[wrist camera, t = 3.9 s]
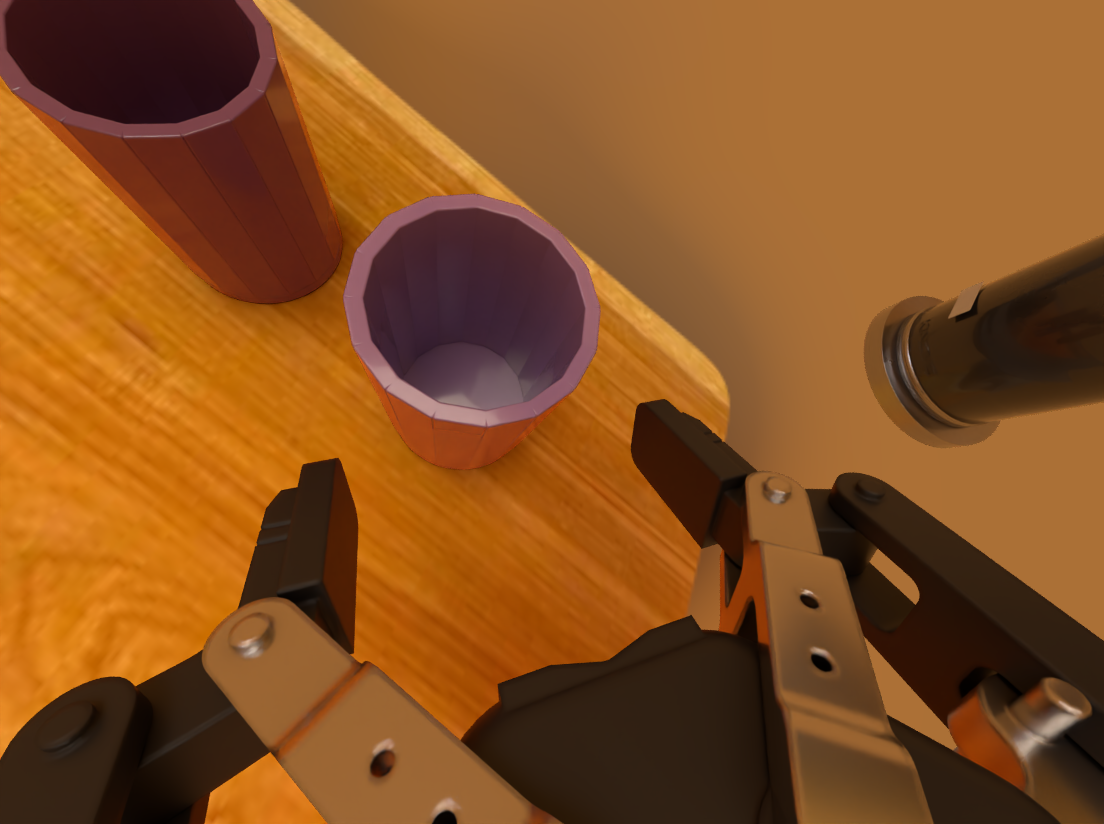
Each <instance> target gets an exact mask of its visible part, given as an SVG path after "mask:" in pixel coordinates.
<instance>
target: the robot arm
mask: <svg viewBox="0 0 1104 824" xmlns="http://www.w3.org/2000/svg"><path fill="white" fill-rule="evenodd" d="M982 284H983V282H981V283H979V284H976V285H974V286H972V287H969V288H967V289H965V290H962V291H961V293H960V295H959V296H957V297H955V298H952V299H950V300H947V301H945V302H943V303H940V304H938V305H936V306H931V307H928V308H925V309H923V310H921V311H919V312H916V313H914V314H912V315H911V316H909V317H908V318H907V319H906V320H905V321H904V322H903V324H902V326H901V328H900V330H899V333H898V336H897V343H896V354H897V361H898V366H899V369H900V372H901V375H902V378H903V380H904V382H905V384H906V386H907V388H908V390H909V391H910V393H911V395H912V396H913V397H914V399H915V400H916V401H917V403H918V404H919V405H920V406H921V407H922V408H923V409H924V410H925V411H926V412H927V413H928V414H929V415H931V416H932V417H933V418H935V419H936V420H938V421H940V422H942V423H944V424H946V425H949V426H952V427H957V428H967V427H973V426H979V425H984V424H987V423H989V422H994V421H999V420H1005V419H1011V418H1017V417H1022V416H1028V415H1035V414H1041V413H1046V412H1052V411H1058V410H1064V409H1069V408H1075V407H1080V406H1086V405H1091V404H1098V403H1103V402H1104V234H1102V235H1100V236H1097V237H1095V238H1092V239H1090V240H1088V241H1085V242H1083V243H1081V244H1078V245H1076V246H1074V247H1072V248H1069V249H1067V250H1065V251H1062V252H1060V253H1057V254H1055V255H1053V256H1050V257H1048V258H1046V259H1043V260H1041V261H1039V262H1036V263H1034V264H1032V265H1029V266H1027V267H1025V268H1022V269H1020V270H1018V271H1015V272H1013V273H1011V274H1009V275H1006V276H1004V277H1001V278H999V279H997V280H994V281H992V282H990V283H987V284H985V285H983V286H982ZM631 453H632V458H633V461H634V463H635V465H636V466H637V468H638V469H639V470H640V472H641V473H642V474H643V475H644V477H645V478H646V479H647V480H648V482H649V483H650V484H651V485H652V487H653V488H654V489H655V491H656V492H657V493H658V494H659V496H660V497H661V498H662V499H663V501H664V502H665V503H666V504H667V506H668V507H669V508H670V509H671V511H672V512H673V513H674V515H675V516H676V517H677V518H678V520H679V521H680V522H681V523H682V525H683V526H684V527H685V528H686V530H687V531H688V532H689V533H690V535H691V536H692V537H693V539H694V540H695V541H696V542H697V544H698V545H699V546H700V547H701V549H702V548H705V547H708V546H711V545H715V544H719V545H720V546H721V547H722V552H721V555H720V624H719V630H718V631H715V630H701V629H700V627H699V626H698V624H697V623H696V621H695V620H694V618H693V617H692V615H690V616H688V617H685V618H682V619H679V620H676V621H674V622H671V623H668V624H665V625H662V626H659V627H657V628H654V629H651V630H648V631H647V632H646V633H644V634H643V635H642V636H640V637H639V638H638V639H636V640H635V641H634V642H632V643H631V644H630V645H628V646H627V647H626V648H624V649H623V650H622V651H620V652H619V653H618V654H616V655H615V656H614V657H612V658H611V659H609V660H607V661H602V662H589V663H575V664H561V665H550V666H547V667H544V668H541V669H538V670H536V671H533V672H530V673H527V674H524V675H522V676H519V677H516V678H513V679H510V680H508V681H505V682H502V683H499V684H498V693H499V702H498V703H496V704H495V705H494V706H492V707H491V708H489V709H488V710H487V711H486V712H485V713H484V714H483V715H482V716H481V717H480V718H478V719H477V720H476V722H475V723H474V724H473V725H472V726H471V727H470V729H469V730H468V731H467V732H466V733H465V735H464V736H463V737H462V739H461V740H459V739H458V738H457V737H456V736H454V735H453V734H452V733H451V732H450V731H449V730H448V729H447V728H446V727H444V726H443V725H442V724H441V723H440V722H439V721H438V720H437V719H435V718H434V717H433V716H432V715H431V714H430V713H429V712H428V711H426V710H425V709H424V708H423V707H422V706H421V705H420V704H419V703H417V702H416V701H415V700H414V699H413V698H412V697H411V696H410V695H408V694H407V693H406V692H405V691H404V690H403V689H402V688H401V687H399V686H398V685H397V684H396V683H395V682H394V681H393V680H392V679H390V678H389V677H388V676H387V675H386V674H385V673H384V672H383V671H381V670H380V669H379V668H378V667H377V666H375V665H374V664H372V663H371V662H368V661H365V662H364V663H363V664H361V663H359V662H358V661H357V660H355V659H354V658H353V657H352V656H351V655H350V654H353V653H354V636H355V607H356V578H357V549H358V519H357V513H356V508H355V504H354V501H353V498H352V495H351V492H350V488H349V485H348V482H347V479H346V476H345V473H344V470H343V467H342V464H341V461H340V460H339V458H335V459H329V460H324V461H318V462H313V463H307V464H303V466H302V469H301V474H300V479H299V483H298V487H296V488H291V489H286V490H281V491H280V492H279V493H278V495H277V496H276V497H275V498H274V500H273V501H272V502H271V503H270V504H269V506H268V507H267V508H266V511H265V514H264V518H263V521H262V525H261V531H260V532H259V536H258V539H257V546H255V550H254V553H253V557H252V561H251V564H250V568H249V571H248V575H247V578H246V582H245V585H244V589H243V593H242V596H241V600H240V603H239V606H238V609H237V610H236V611H234V612H233V613H231V614H230V615H229V616H228V617H226V618H225V619H224V620H223V621H222V622H221V623H220V624H219V625H218V626H217V627H216V628H215V629H214V631H213V632H212V633H211V635H210V636H209V638H208V639H207V642H206V644H205V646H204V649H203V650H201V651H200V652H198V653H197V654H196V655H194V656H192V657H190V658H189V659H187V660H185V661H183V662H181V663H179V664H177V665H176V666H174V667H172V668H170V669H168V670H166V671H164V672H162V673H160V674H158V675H156V676H154V677H153V678H151V679H149V680H147V681H145V682H143V683H141V684H139V685H137V686H134V685H133V684H132V683H131V682H130V681H128V680H127V679H125V678H121V677H104V678H100V679H96V680H92V681H89V682H87V683H84V684H82V685H80V686H78V687H75V688H73V689H71V690H70V691H68V692H66V693H64V694H63V695H61V696H59V697H58V698H56V699H55V700H54V701H52V702H51V703H49V704H48V705H47V706H45V707H44V708H43V709H42V710H40V711H39V712H38V713H37V714H36V715H35V716H34V717H32V718H31V719H30V720H29V721H28V722H27V723H26V724H25V725H24V726H23V727H22V729H21V730H20V731H19V732H18V733H17V734H16V736H15V737H14V738H13V740H12V741H11V742H10V744H9V745H8V747H7V749H6V750H5V752H4V754H3V756H2V757H1V759H0V824H204V823H205V818H206V812H207V807H208V802H209V797H210V792H212V791H213V790H214V789H216V788H217V787H219V786H220V785H222V784H223V783H225V782H226V781H228V780H229V779H231V778H232V777H234V776H235V775H237V774H238V773H240V772H241V771H243V770H244V769H246V768H247V767H249V766H250V765H252V764H253V763H255V762H256V761H258V760H259V759H260V758H262V757H263V756H265V755H266V754H268V753H269V752H271V753H272V754H273V756H274V757H275V758H276V760H277V761H278V762H279V763H280V765H281V766H282V767H283V768H284V770H285V771H286V772H287V773H288V775H289V776H290V777H291V778H292V780H293V781H294V782H295V783H296V785H297V786H298V787H299V788H300V790H301V791H302V792H303V793H304V794H305V796H306V797H307V798H308V799H309V801H310V802H311V803H312V804H313V806H314V807H315V808H316V809H317V811H318V812H319V813H320V814H321V816H322V817H323V818H324V819H325V821H326V822H327V823H328V824H1104V641H1103V640H1102V639H1100V638H1099V637H1097V636H1096V635H1095V634H1093V633H1092V632H1091V631H1089V630H1088V629H1087V628H1085V627H1084V626H1082V625H1081V624H1080V623H1078V622H1077V621H1076V620H1074V619H1073V618H1071V617H1070V616H1069V615H1067V614H1066V613H1065V612H1063V611H1062V610H1061V609H1059V608H1058V607H1056V606H1055V605H1054V604H1052V603H1051V602H1049V601H1048V600H1047V599H1045V598H1044V597H1043V596H1041V595H1040V594H1038V593H1037V592H1036V591H1034V590H1033V589H1032V588H1030V587H1029V586H1027V585H1026V584H1025V583H1023V582H1022V581H1021V580H1019V579H1018V578H1017V577H1015V576H1014V575H1012V574H1011V573H1010V572H1008V571H1007V570H1006V569H1004V568H1003V567H1001V566H1000V565H999V564H997V563H995V562H994V561H993V560H992V559H990V558H989V557H988V556H986V555H985V554H984V553H982V552H981V551H979V550H978V549H977V548H975V547H974V546H973V545H971V544H970V543H969V542H967V541H966V540H964V539H963V538H962V537H960V536H959V535H958V534H956V533H955V532H953V531H952V530H950V529H949V528H948V527H947V526H945V525H944V524H942V523H941V522H939V521H938V520H937V519H935V518H934V517H933V516H931V515H930V514H929V513H927V512H926V511H925V510H923V509H922V508H920V507H919V506H918V505H916V504H915V503H914V502H912V501H911V500H909V499H908V498H907V497H905V496H904V495H903V494H901V493H900V492H898V491H897V490H896V489H894V488H893V487H892V486H890V485H889V484H887V483H885V482H883V481H882V480H880V479H877V478H875V477H872V476H869V475H865V474H861V473H844V474H841V475H839V476H838V477H837V479H836V481H835V483H834V485H833V487H832V489H804V488H803V487H802V486H801V485H800V484H799V483H797V482H796V481H795V480H793V479H791V478H789V477H787V476H785V475H782V474H780V473H776V472H771V471H757V470H756V469H754V468H753V467H752V466H751V465H750V464H749V463H748V462H747V461H745V460H744V459H743V458H742V457H741V456H740V455H739V454H737V453H736V452H735V451H734V450H733V449H732V448H731V447H729V446H728V445H727V444H726V443H725V442H722V439H720V438H719V437H718V436H717V435H716V434H715V433H712V431H711V430H710V429H709V428H708V427H707V426H706V425H704V424H703V423H702V422H701V421H700V420H698V419H696V418H694V417H692V416H690V415H688V414H686V413H684V412H683V413H681V412H679V411H678V410H677V409H676V408H675V407H674V406H673V405H672V404H671V403H670V402H668V401H667V400H665V399H661V400H656V401H650V402H645V403H640V404H639V405H638V406H637V409H636V414H635V421H634V428H633V435H632V443H631ZM877 549H879V550H880V551H881V552H882V553H884V554H885V555H886V556H887V557H888V558H889V559H890V560H892V561H893V562H894V563H895V564H896V565H897V566H898V567H900V568H901V569H902V570H903V571H904V572H905V573H906V574H908V575H909V576H910V577H911V578H912V580H913V581H914V582H915V583H916V585H917V587H918V590H919V593H920V598H919V601H918V602H917V604H916V605H915V604H914V603H913V602H912V601H910V600H909V598H907V597H906V596H905V595H904V594H903V593H902V592H901V591H900V590H899V589H898V588H897V587H895V586H894V585H893V584H892V583H891V582H890V581H889V580H888V579H887V578H886V577H885V576H884V575H883V574H882V573H880V572H879V571H878V570H877V569H876V568H875V567H874V566H873V565H872V564H871V563H870V562H869V561H870V560H871V558H872V557H873V555H874V553H875V552H876V550H877ZM864 637H865V638H866V639H867V640H868V641H869V642H870V643H871V644H872V645H873V647H875V649H876V650H877V651H878V652H879V653H880V654H881V655H882V656H883V657H884V659H885V660H886V661H887V662H888V663H889V664H890V665H891V666H892V667H893V669H894V670H895V671H896V672H897V673H898V674H899V675H900V676H901V677H902V678H903V680H904V681H905V682H906V683H907V684H908V685H909V686H910V687H911V688H912V689H913V691H914V692H915V693H916V694H917V695H918V696H919V697H920V698H921V699H922V700H923V702H924V703H925V704H926V705H927V706H928V707H929V708H930V709H931V710H932V711H933V713H934V714H935V715H936V716H937V717H938V718H939V719H940V720H941V721H942V722H943V724H944V725H945V726H946V727H947V728H948V729H949V731H950V734H951V736H952V738H953V740H954V742H955V743H956V745H957V747H956V748H955V749H954V750H951V749H949V748H947V747H945V746H944V745H942V744H940V743H938V742H936V741H934V740H932V739H931V738H929V737H927V736H925V735H923V734H922V733H920V732H918V731H916V730H914V729H913V728H911V727H909V726H907V725H905V724H903V723H901V722H900V721H898V720H896V719H894V718H892V717H890V716H889V715H887V714H886V711H885V708H884V704H883V701H882V697H881V694H880V691H879V687H878V684H877V681H876V677H875V674H874V670H873V667H872V663H871V660H870V657H869V653H868V650H867V646H866V643H865V640H864Z"/></svg>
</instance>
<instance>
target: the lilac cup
mask: <svg viewBox="0 0 1104 824" xmlns="http://www.w3.org/2000/svg"><path fill="white" fill-rule="evenodd" d="M343 297H344V298H343V303H344V308H345V313H346V318H347V322H348V327H349V332H350V337H351V342H352V346H353V348H354V350H355V352H356V354H357V356H358V358H359V360H360V362H361V364H362V366H363V368H364V370H365V372H366V374H367V376H368V377H369V379H370V381H371V383H372V385H373V387H374V389H375V391H376V393H377V395H378V397H379V399H380V401H381V403H382V405H383V407H384V408H385V410H386V412H387V414H388V416H389V418H390V420H391V422H392V424H393V426H394V428H395V429H396V431H397V432H398V433H399V435H400V436H401V438H402V439H403V441H404V442H405V443H406V444H407V446H408V447H409V448H410V449H411V450H412V451H413V452H414V453H416V454H417V455H418V456H420V457H421V458H423V459H424V460H426V461H428V462H430V463H432V464H434V465H437V466H440V467H444V468H449V469H458V470H464V469H474V468H479V467H482V466H485V465H488V464H491V463H493V462H495V461H497V460H498V459H500V458H501V457H503V456H504V455H505V454H506V453H508V452H509V451H510V450H512V449H513V448H514V447H516V446H517V445H518V444H519V443H520V442H521V441H522V440H523V439H524V438H525V437H526V436H527V435H528V434H529V433H530V432H531V431H532V430H533V429H534V428H535V427H536V426H537V425H538V424H539V423H541V422H542V421H543V420H544V419H545V418H546V417H547V416H548V415H549V414H550V413H551V412H552V411H553V410H554V409H555V408H556V407H557V406H558V405H559V404H560V403H561V402H562V401H563V400H564V399H565V398H567V397H568V396H569V395H570V394H571V393H572V392H573V391H574V389H575V388H576V387H577V385H578V383H579V382H580V380H581V378H582V376H583V375H584V373H585V371H586V369H587V368H588V366H589V364H590V362H591V361H592V359H593V357H594V355H595V354H596V350H597V342H598V332H599V321H600V305H599V302H598V299H597V295H596V292H595V289H594V286H593V282H592V279H591V276H590V273H589V269H588V268H587V266H586V264H585V263H584V262H583V260H582V259H581V258H580V257H579V255H578V254H577V253H576V251H575V250H574V249H573V247H572V246H571V245H570V244H569V242H568V241H567V240H566V238H565V237H564V236H563V234H562V233H560V231H559V230H557V229H556V228H554V227H553V226H551V225H550V224H548V223H546V222H545V221H543V220H542V219H540V218H539V217H537V216H536V215H534V214H533V213H531V212H530V211H528V210H527V209H525V208H524V207H521V206H519V205H515V204H512V203H508V202H505V201H501V200H497V199H494V198H490V197H486V196H483V195H479V194H477V195H476V194H465V195H448V196H432V197H430V198H429V197H427V198H425V199H423V200H421V201H419V202H416V203H414V204H412V205H410V206H408V207H405V208H403V209H401V210H399V211H397V212H394V213H392V214H390V215H388V216H387V217H385V218H384V219H383V221H382V222H381V223H380V224H379V225H378V226H377V227H376V228H375V230H374V231H373V232H372V233H371V234H370V235H369V236H368V237H367V239H366V240H365V241H364V242H363V243H362V244H361V245H360V246H359V248H358V249H357V250H356V252H355V254H354V258H353V261H352V265H351V268H350V272H349V276H348V279H347V283H346V287H345V290H344V294H343Z"/></svg>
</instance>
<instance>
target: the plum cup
mask: <svg viewBox="0 0 1104 824" xmlns="http://www.w3.org/2000/svg"><path fill="white" fill-rule="evenodd" d="M0 76H1V78H2V79H3V80H4V82H5V83H6V85H7V86H8V87H9V89H10V90H11V92H12V93H13V94H14V95H15V96H16V97H17V98H18V99H19V100H21V101H22V102H23V103H24V104H25V105H26V106H27V107H28V108H29V109H30V110H31V111H32V112H33V113H34V114H35V115H36V116H37V117H38V118H39V119H40V120H41V121H42V122H43V123H44V124H45V125H46V126H47V127H48V128H49V129H50V130H51V131H52V132H53V133H54V134H55V135H56V136H57V137H58V138H59V139H60V140H61V141H62V142H63V143H64V144H65V145H66V146H67V147H68V148H69V149H70V150H71V151H72V152H73V153H74V154H75V155H76V156H77V157H78V158H79V159H80V160H81V161H82V162H83V163H84V164H85V165H86V166H87V167H88V168H89V169H90V170H91V171H92V172H93V173H94V174H95V175H96V176H97V177H98V178H99V179H100V180H101V181H102V182H103V183H104V184H105V185H106V186H107V187H108V188H109V189H110V190H111V191H112V192H113V193H114V194H115V195H116V196H117V197H118V198H119V199H120V200H121V201H122V202H123V203H124V204H125V205H126V206H127V207H128V208H129V209H130V210H131V211H132V212H133V213H134V214H135V215H136V216H137V217H138V218H139V219H140V220H141V221H142V222H143V223H144V224H145V225H146V226H147V227H148V228H149V229H150V230H151V231H152V232H153V233H154V234H155V235H156V236H158V237H159V238H160V239H161V240H162V241H163V242H164V243H165V244H166V245H167V246H168V247H169V248H170V249H171V250H172V251H173V252H174V253H175V254H176V255H177V256H178V257H179V258H180V259H181V260H182V261H183V262H184V263H185V264H186V265H187V266H188V267H189V268H190V269H191V270H192V271H193V272H194V273H195V274H196V275H197V276H198V277H200V278H202V279H203V280H204V281H205V282H206V283H207V284H208V285H210V286H211V287H213V288H214V289H216V290H217V291H219V292H221V293H223V294H225V295H227V296H230V297H232V298H235V299H239V300H242V301H246V302H253V303H280V302H286V301H290V300H294V299H297V298H300V297H302V296H305V295H307V294H309V293H310V292H312V291H314V290H316V289H317V288H318V287H320V286H321V285H322V284H323V283H324V282H325V281H326V280H327V279H329V277H330V276H331V275H332V273H333V272H334V270H335V269H336V267H337V265H338V263H339V260H340V257H341V253H342V234H341V230H340V227H339V224H338V219H337V215H336V212H335V209H334V206H333V203H332V200H331V197H330V195H329V192H328V189H327V186H326V183H325V180H324V177H323V174H322V171H321V168H320V166H319V163H318V160H317V157H316V154H315V151H314V148H313V145H312V142H311V140H310V137H309V134H308V131H307V128H306V125H305V122H304V119H303V116H302V113H301V111H300V108H299V105H298V102H297V99H296V96H295V93H294V90H293V87H292V84H291V82H290V79H289V76H288V73H287V70H286V67H285V64H284V61H283V58H282V56H281V53H280V50H279V47H278V44H277V41H276V38H275V35H274V32H273V29H272V27H271V25H270V23H269V22H268V20H267V19H266V18H265V16H264V15H263V14H262V12H261V11H260V10H259V8H258V7H257V6H256V4H255V3H254V2H253V0H0Z"/></svg>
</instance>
